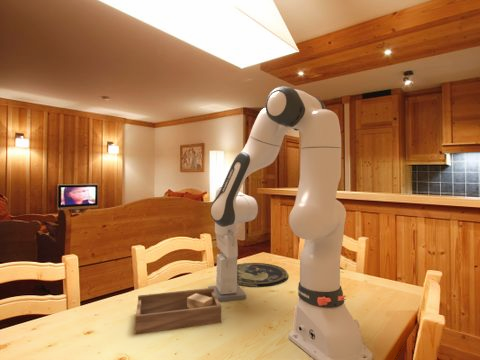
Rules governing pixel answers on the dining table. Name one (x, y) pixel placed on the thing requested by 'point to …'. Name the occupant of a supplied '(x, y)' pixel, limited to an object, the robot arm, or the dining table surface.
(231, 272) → the small box
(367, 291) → the dining table surface
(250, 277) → the decorative plate
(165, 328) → the tray
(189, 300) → the offcut upper
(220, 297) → the plate
